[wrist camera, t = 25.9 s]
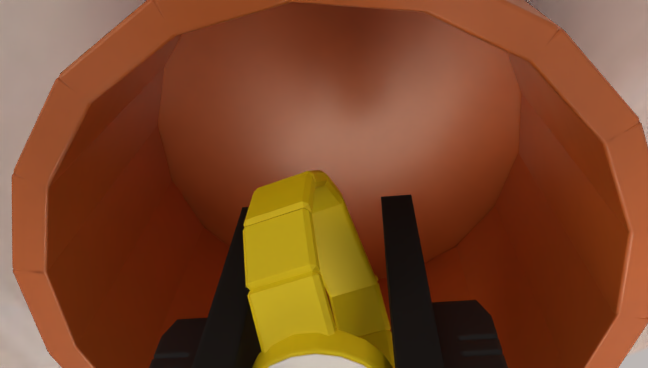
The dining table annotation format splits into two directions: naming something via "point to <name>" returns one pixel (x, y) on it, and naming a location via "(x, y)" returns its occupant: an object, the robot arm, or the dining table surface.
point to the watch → (312, 280)
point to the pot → (336, 168)
